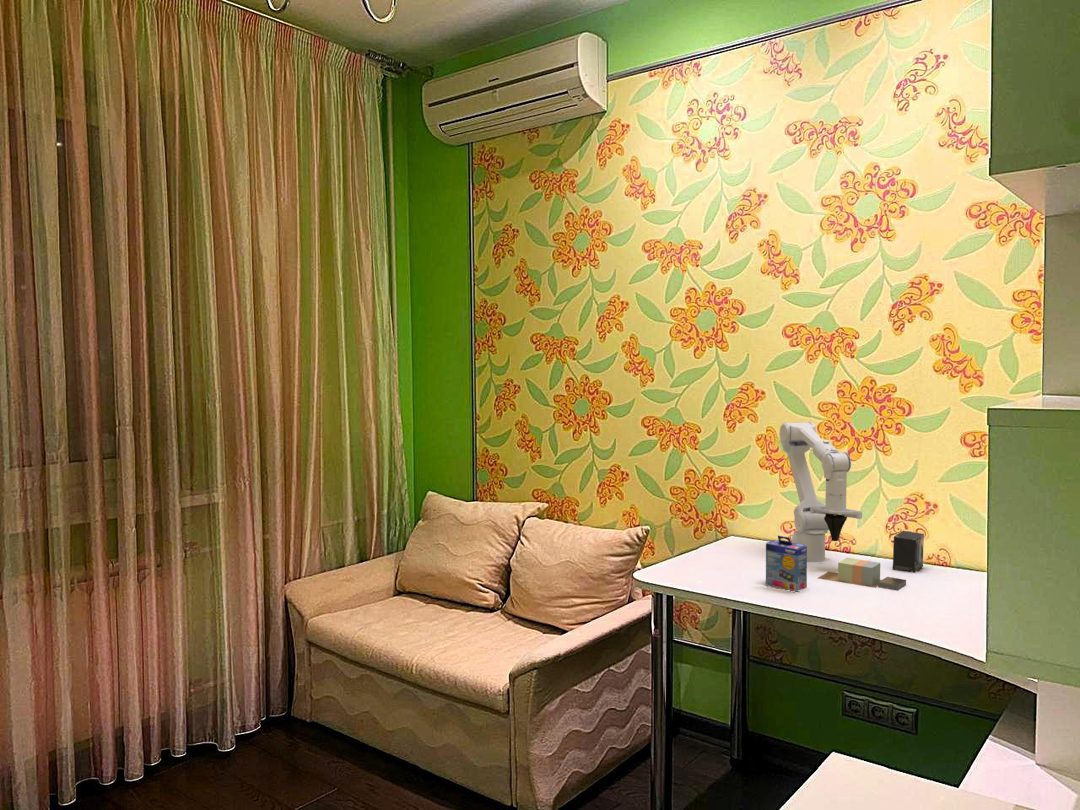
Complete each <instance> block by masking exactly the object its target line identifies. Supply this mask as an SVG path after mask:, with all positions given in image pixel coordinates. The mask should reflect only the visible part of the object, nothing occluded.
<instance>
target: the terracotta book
mask: <svg viewBox="0 0 1080 810" xmlns="http://www.w3.org/2000/svg"><path fill="white" fill-rule="evenodd" d="M859 560H860V561H859V562H857V563H855V564H853V575H852V583H856V584H862V566H864V565H866V564H867V563H869V562H871V561H870V560H863V559H859Z"/></svg>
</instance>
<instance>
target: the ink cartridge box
mask: <svg viewBox="0 0 1080 810" xmlns="http://www.w3.org/2000/svg"><path fill="white" fill-rule="evenodd" d="M777 539H778V540H776V539H774V540H771V541H768V542H766V543H765V585H767V586H772V587H777V588H776V589H778V588H782V589H785V590H784V591H786V590H790V591H789V592H791V591H795V592H798V593H800V592H801V590H803V589H806V588H808V586H807V585H808V582H807V581H808V576H807V575H808V573H807V571H808V565H807V564H808V562H807V546H806V545H802V544H796V543H792V539H791V538H790V537H788V536H782V535H777ZM783 539H784V540H783ZM782 589H781V590H782ZM795 592H794V593H795Z"/></svg>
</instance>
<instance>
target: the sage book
mask: <svg viewBox="0 0 1080 810" xmlns="http://www.w3.org/2000/svg"><path fill="white" fill-rule="evenodd" d="M860 560H861V559H859V558H858V559H857V558H851V557H846V558H844V559H842V560H840V561H839V562H838V563H837V564H838V565H837V573H838V580H839V581H845V582H851V583H852V575H853V564H855V563H857V562H859V561H860Z"/></svg>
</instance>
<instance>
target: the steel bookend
mask: <svg viewBox="0 0 1080 810" xmlns="http://www.w3.org/2000/svg"><path fill="white" fill-rule="evenodd" d="M880 580H881V581H879V582H878V587H877V588H881V589H886V590H892V591H897V592H898V591H899V590H900V589H902V588H904V587H905V586H906V585H907V580H906V579H904V578H897V577H890V576H886V577H885V578H883V579H880Z"/></svg>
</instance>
